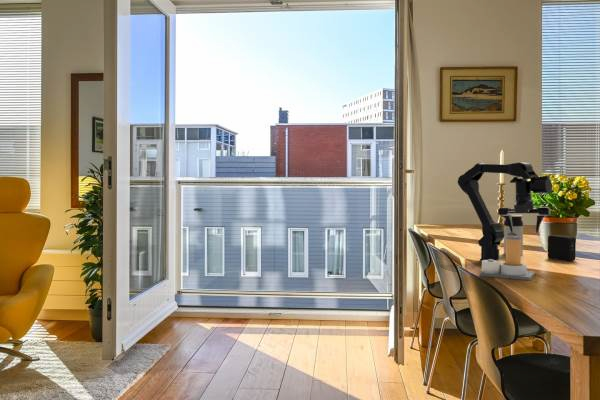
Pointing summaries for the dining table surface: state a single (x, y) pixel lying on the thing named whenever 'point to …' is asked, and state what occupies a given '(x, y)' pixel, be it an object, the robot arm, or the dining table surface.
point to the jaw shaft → (513, 251)
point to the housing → (505, 270)
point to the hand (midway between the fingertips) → (524, 232)
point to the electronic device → (561, 247)
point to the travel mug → (514, 230)
